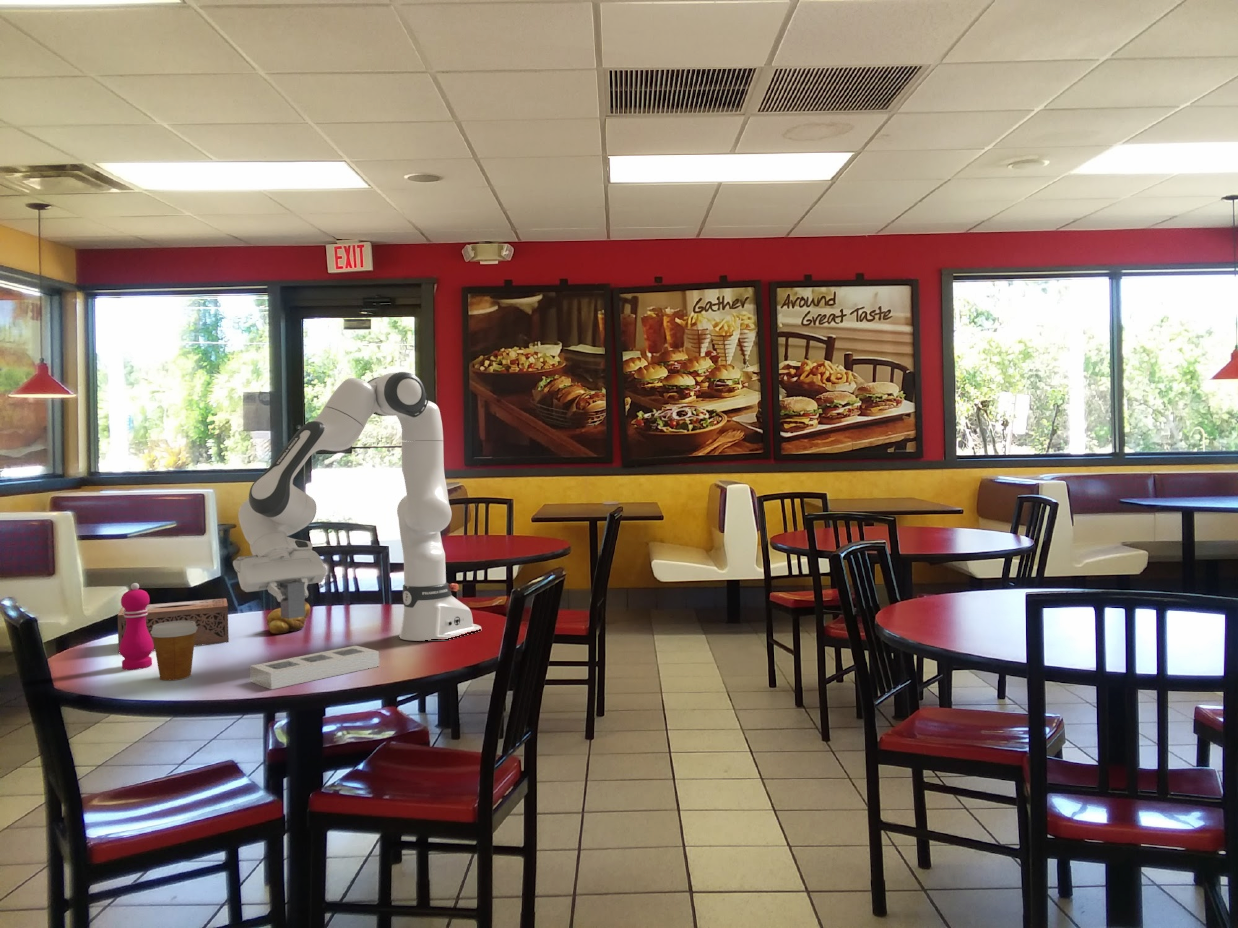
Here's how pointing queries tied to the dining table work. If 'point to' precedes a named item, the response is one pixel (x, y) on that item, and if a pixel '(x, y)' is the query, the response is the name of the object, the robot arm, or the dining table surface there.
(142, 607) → the pepper mill
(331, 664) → the rail
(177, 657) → the disposable coffee cup
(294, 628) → the bread roll
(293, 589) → the peg
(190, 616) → the tissue box cover
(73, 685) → the dining table surface
